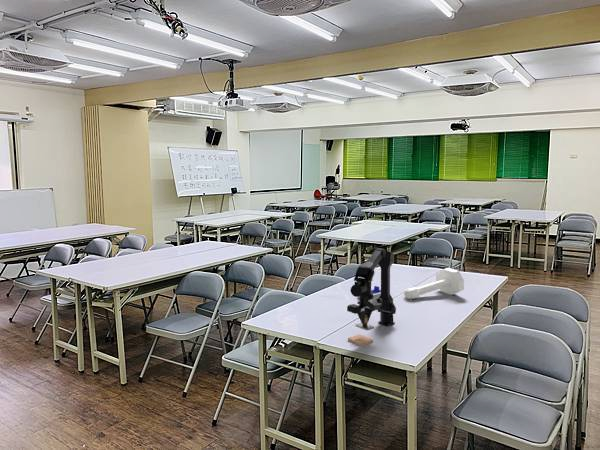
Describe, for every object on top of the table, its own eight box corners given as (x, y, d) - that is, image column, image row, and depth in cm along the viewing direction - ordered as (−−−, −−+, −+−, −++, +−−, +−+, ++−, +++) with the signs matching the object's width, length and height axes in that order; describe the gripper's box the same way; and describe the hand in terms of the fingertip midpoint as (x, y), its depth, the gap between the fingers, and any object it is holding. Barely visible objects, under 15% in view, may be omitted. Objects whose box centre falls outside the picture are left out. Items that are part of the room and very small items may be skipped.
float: (355, 326, 224) (355, 314, 223) (362, 323, 227) (362, 312, 226) (367, 330, 218) (367, 318, 217) (374, 328, 220) (374, 316, 220)
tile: (359, 337, 227) (348, 341, 223) (359, 334, 227) (348, 337, 222) (373, 343, 220) (361, 346, 215) (373, 339, 220) (361, 343, 215)
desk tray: (356, 298, 295) (356, 292, 294) (376, 294, 305) (376, 288, 305) (368, 302, 287) (368, 296, 286) (388, 297, 297) (388, 291, 297)
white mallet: (394, 281, 303) (437, 268, 314) (401, 307, 302) (444, 293, 313) (414, 281, 280) (460, 266, 291) (421, 309, 279) (467, 293, 290)
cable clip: (367, 299, 292) (367, 290, 291) (362, 297, 295) (362, 288, 295) (380, 296, 298) (380, 287, 297) (376, 294, 302) (376, 285, 301)
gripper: (362, 299, 208) (362, 332, 210) (391, 292, 219) (390, 323, 221) (346, 293, 217) (346, 325, 219) (374, 287, 228) (374, 317, 230)
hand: (364, 323), depth 222 cm, fingers closed on float, 2 cm apart
